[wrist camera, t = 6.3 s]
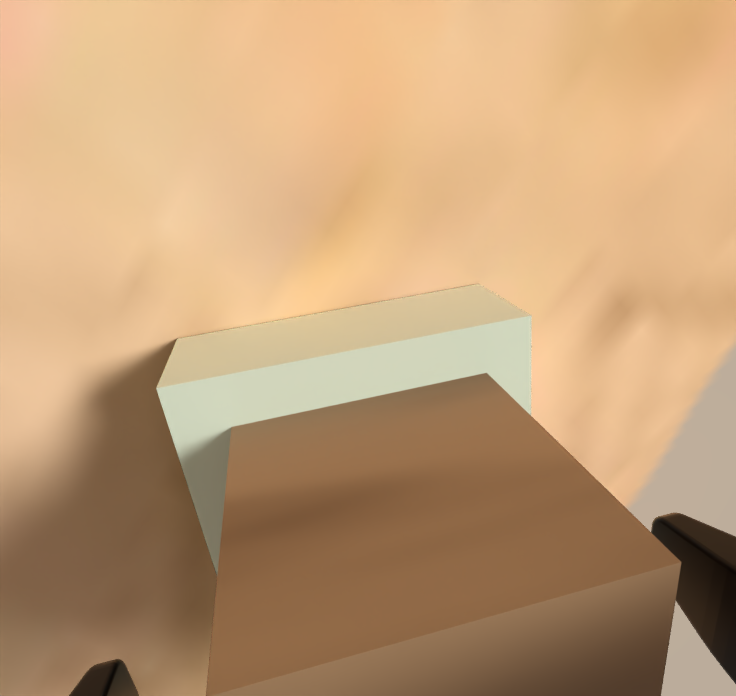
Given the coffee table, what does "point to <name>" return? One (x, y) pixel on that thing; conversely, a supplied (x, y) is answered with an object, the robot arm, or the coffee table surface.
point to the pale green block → (329, 372)
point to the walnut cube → (431, 558)
